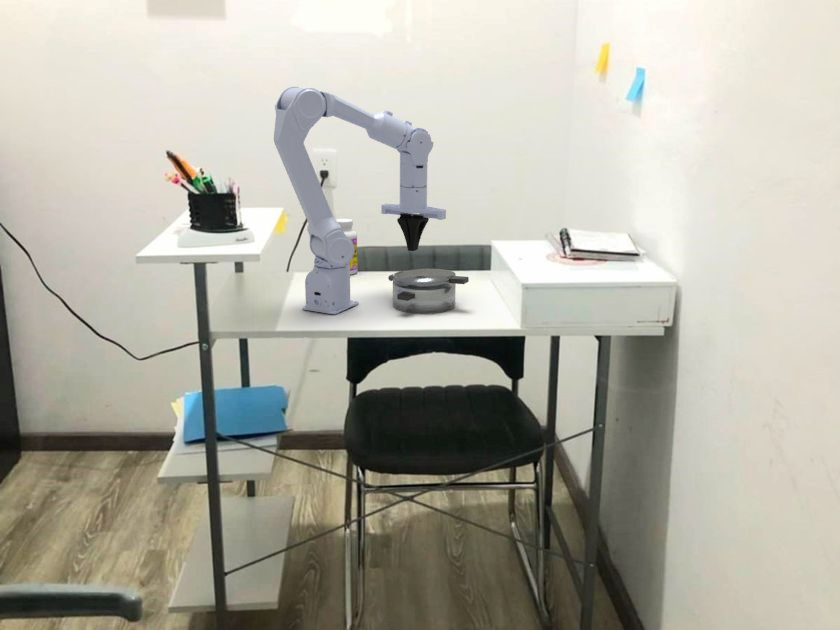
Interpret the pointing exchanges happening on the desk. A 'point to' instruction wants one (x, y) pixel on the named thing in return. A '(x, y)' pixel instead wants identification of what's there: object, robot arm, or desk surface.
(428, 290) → the pot
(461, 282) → the lid
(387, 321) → the desk surface
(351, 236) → the supplement bottle
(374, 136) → the robot arm
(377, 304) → the desk surface
